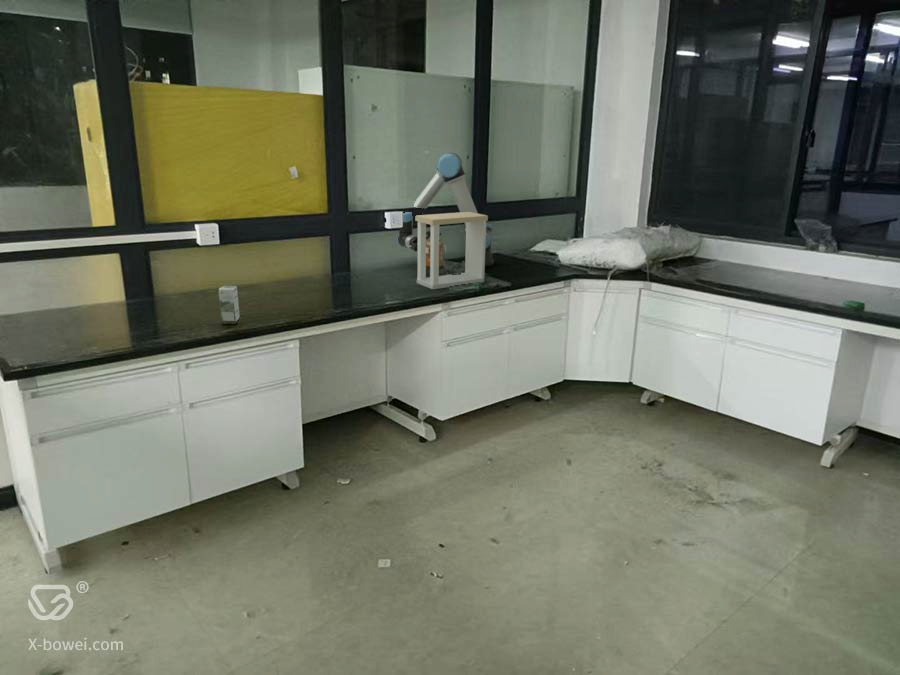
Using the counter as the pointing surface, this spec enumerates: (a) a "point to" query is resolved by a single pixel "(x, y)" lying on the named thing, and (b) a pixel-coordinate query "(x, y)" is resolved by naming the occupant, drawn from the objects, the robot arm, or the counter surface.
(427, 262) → the canister
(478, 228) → the under-counter shelf
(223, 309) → the syrup box
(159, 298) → the counter surface
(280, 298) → the counter surface
